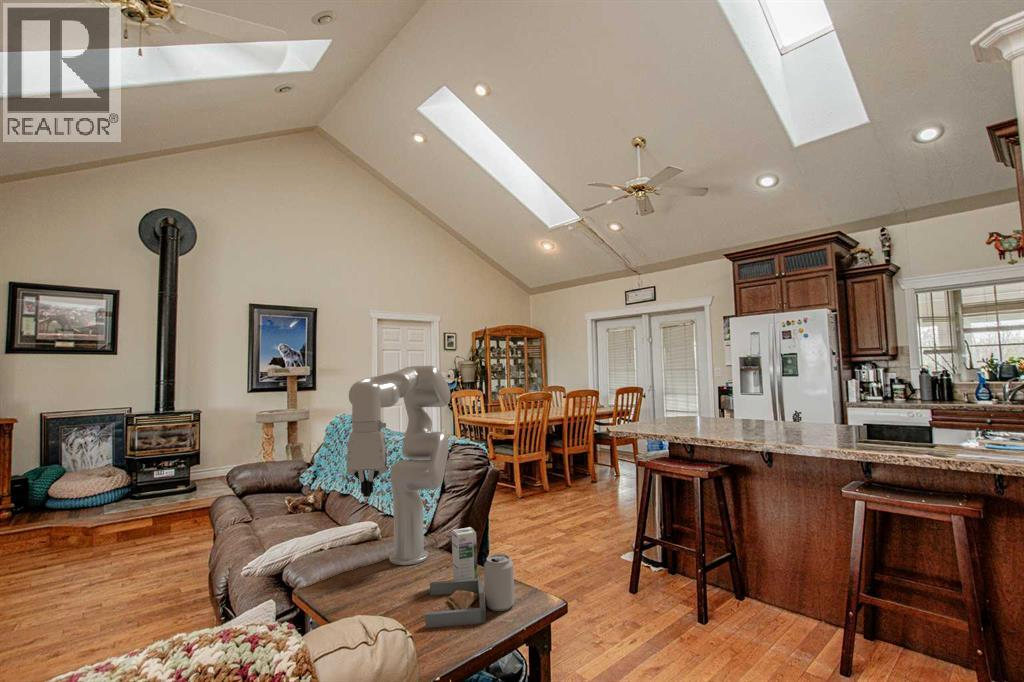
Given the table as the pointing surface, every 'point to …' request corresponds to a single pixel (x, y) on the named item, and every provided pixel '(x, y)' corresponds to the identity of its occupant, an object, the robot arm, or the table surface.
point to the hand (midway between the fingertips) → (367, 495)
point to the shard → (462, 599)
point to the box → (462, 614)
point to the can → (499, 582)
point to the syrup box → (464, 554)
